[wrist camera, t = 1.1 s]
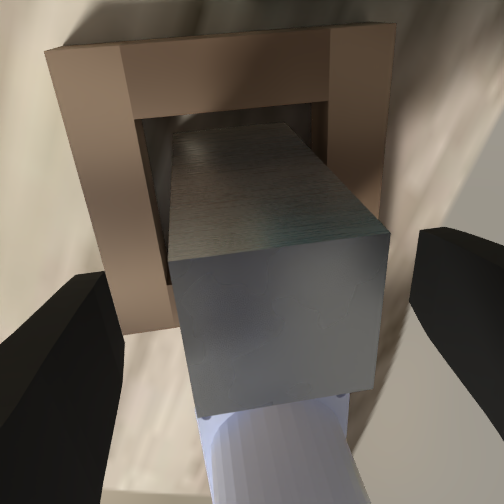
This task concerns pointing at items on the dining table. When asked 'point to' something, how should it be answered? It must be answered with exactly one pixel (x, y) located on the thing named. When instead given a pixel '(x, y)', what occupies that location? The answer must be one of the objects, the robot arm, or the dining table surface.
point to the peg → (271, 271)
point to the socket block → (201, 101)
